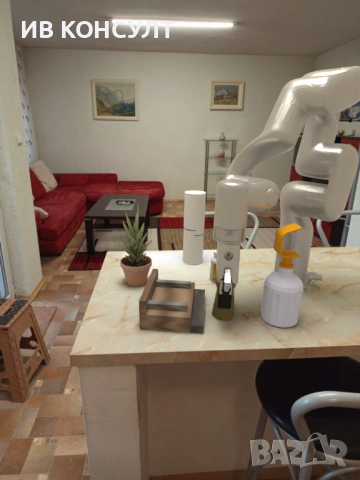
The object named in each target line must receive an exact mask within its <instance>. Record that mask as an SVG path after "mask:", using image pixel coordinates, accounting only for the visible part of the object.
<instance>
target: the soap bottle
mask: <svg viewBox="0 0 360 480" xmlns="http://www.w3.org/2000/svg"><path fill="white" fill-rule="evenodd" d="M301 229H302V228H301V227H300V226H299V225H297V224H295V223H293V224H289V225H286V226H283V227H280V226H279V227H278V228H277V229H276V230H275V234H274V241H273V242H274V243H273V249H274V251H275V252H277V253H278V254H279V255H280V256H281V258H282V259H283V262H280V263H279V269H278V271H277V272H274V271H273V273H272V272H271V273H272V274H270V273H269V274H270V275H269V274H268V275H267V276H266V278H265V280H264V282H263V290H262V291H263V292H262V300H261V307H260V308H261V309H260V316H261V318H262V320H263V321H264V322H265V323H267V324H268V325H271V326H274V327H277V328H292V327H295V325H297V324H298V322H299V321H298V320H299V316H300V309H301V303H302V298H303V292H304V291H303V283H302V281H301V280H300V279H299V278H298V277H297V276H296V275H294V274H293V267H294V265H293V264H292V263H290V262H291V260H293V259H294V258H299V257H300V255H299V254H298V253H297V252H296V251H294V250H282V248H283V240H284V237H285V236H286V235H287V234H290V233H293V232H296V231H299V230H301Z"/></svg>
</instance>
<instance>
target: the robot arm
mask: <svg viewBox="0 0 360 480" xmlns="http://www.w3.org/2000/svg"><path fill="white" fill-rule="evenodd" d="M359 102H360V65H352V66H345V67H344V66H343V67H336V68H327V69H321V70H320V69H319V70H315V71H311V72H308V73H305V74H304V75H303V76H301V77H298V78H294V79H292V80H289V81H288V82H287V83H286V84H284V86H283V87H282V89H281V91H280V93H279V95H278V97H277V100H276V102H275V104H274V106H273V109H272V111H271V113H270V114H269V117H268V119H267V121H266V123H265V126H264V128H263V130H262V132H261V133H260V134H259V135H258V136H257V137H256V138H254V139H253V140H252V141H250V142H249V143H248V144H247V145H246V146H245V147H244V148H243V149H241V150H240V152H239V153H237V155H236V156H235V157H234V159H232V162H231V163H230V165H229V167H228V169H227V172H226V174H225V176H224V179H222V180H219V181H218V182H217V184H216V188H215V189H216V190H215V203H214V213H213V214H214V217H213V230H212V239H213V241H215V242H217V245H216V250H217V258H216V269H217V281H218V282H219V283H220V292H218V302H217V308H221V309H231V301H232V282H233V283H234V284H236V285H238V283H239V270H240V258H241V244H243V243H244V242H245V240H246V239H245V238H246V231H247V222H248V215H249V212H266V211H269V210H271V209H273V208H274V207H276V205H277V203H278V201H279V207H280V222H279V228H280V227H283V226H286V225H289V224H293V223H295V224H297V225H299V226H300V227H301V228H302V229H301V230H299V231H296V232H293V233H290V234H287V235H286V236H285V237H284V240H283V248H282V250H294V251H296V252H297V253H298V254H299V255H300V257H299V258H294V259H293V260H291V262H290V263H292V264H293V265H294V267H293V274H294V275H296V276H297V277H298V278H299V279H300V280H301V281H302V283H303V292H304V291H307V290H309V288H310V287H311V282H312V281H317V282H322V281H323V279H324V278H323V277H324V276H323V274H317V273H316V271H309V270H308V266H309V260H310V254H311V248H312V243H313V237H314V225H313V223H312V220H311V219H315V220H320V221H323V222H325V221H326V222H335V221H337V220H339V219H340V218H341V216H342V214H343V213H344V210H345V209H346V205H347V202H348V201H349V196H350V193H351V190H352V186H353V183H354V180H355V177H356V174H357V169H358V165H359V152H358V150H357V148H355V146H354V145H351V144H347V143H335V141H336V137H337V132H338V131H339V130H338V129H339V122H338V120H337V119H338V118H337V117H336V115H335V114H338V113H340V112H343V111H345V110H346V109H349V108H350V107H352V106H354V105H357V104H358V103H359ZM302 131H303V132H302ZM301 133H303V134H302V136H301V141H300V144H299V147H298V151H297V154H296V159H295V163H294V170H295V171H296V173H297V174H298V175H299V176H302V177H308V178H312V179H313V178H314V179H319V180H328V184H326V183H325V184H323V183H318V182H312V181H306V180H305V181H304V180H293V181H289V182H287V183H286V184H285V185H283V187H282V189H281V191H280V188H279V187H278V184H276V183H275V182H273V181H272V180H269V179H265V178H261V177H255V176H250V174H251V173H252V172H253V170H254V169H255V168H256V167H257V166H258V165H260V164H261V163H263V162H264V161H267V160H269V159H273V158H274V157H277V156H280V155H283V154H285V153H287V152H290V151H291V150H293V149H294V148H295V146H296V144H297V142H298V140H299V137H300V135H301ZM275 252H276V251H275ZM274 260H275V261H274V269H273V272H277V271H278V269H279V263H280V262H283V259H282V258H281V256H280V255H279V254H278V253H277V252H276V253H275V259H274ZM273 272H270V273H269V274H268V275H270V274H272V273H273ZM222 279H224V280H222ZM222 284H224V286H223V288H222Z"/></svg>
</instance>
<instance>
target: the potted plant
mask: <svg viewBox="0 0 360 480" xmlns="http://www.w3.org/2000/svg"><path fill="white" fill-rule="evenodd" d="M139 213H140V208H139V205H137V211H136V214H135V220H134V224H133V226H132V223H131V221H130V218H129V215H128V213H127V212H125V217H126V223H127V225H126V224H125V222H124V220H122V225H123V227H124V228H123V229H124V231H125V232H126V235H127V238H125V237H124V236H123V235H122V234H121V233H119V238H120V241H121V243H122V244H123V245H124V247H122V250H124V252H125V253H126V254H124V255H125V256H123V257H121V258H120V260H119V265H120V268H121V269H122V271H123V274H124V277H125V280H126V284H128V285H129V286H132V287H141V286H144V285H146V283H147V281H148V275H149V272H150V270H151V268H152V265H153V259H152V257H150V256H149V255H147V252H145V251H146V250H147V247H148V246H149V245H150V244H151V243H152V242H153V240H150V241H149V242H148V243H147V241H145V239H146V238H147V234H148V232H146V233H145V234H144V230H145V222H143V223H142V225H141V227H140V230H139V220H140V219H139V218H140V214H139ZM143 234H144V235H143ZM144 241H145V243H144Z"/></svg>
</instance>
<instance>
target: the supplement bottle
mask: <svg viewBox="0 0 360 480" xmlns="http://www.w3.org/2000/svg"><path fill="white" fill-rule="evenodd" d="M216 258H217V249H214V251H213V255H212V257H211V258H210V268H209V270H210V271H209V280H210V281H211V282H213V283H215V280H216V277H217V269H216Z"/></svg>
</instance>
